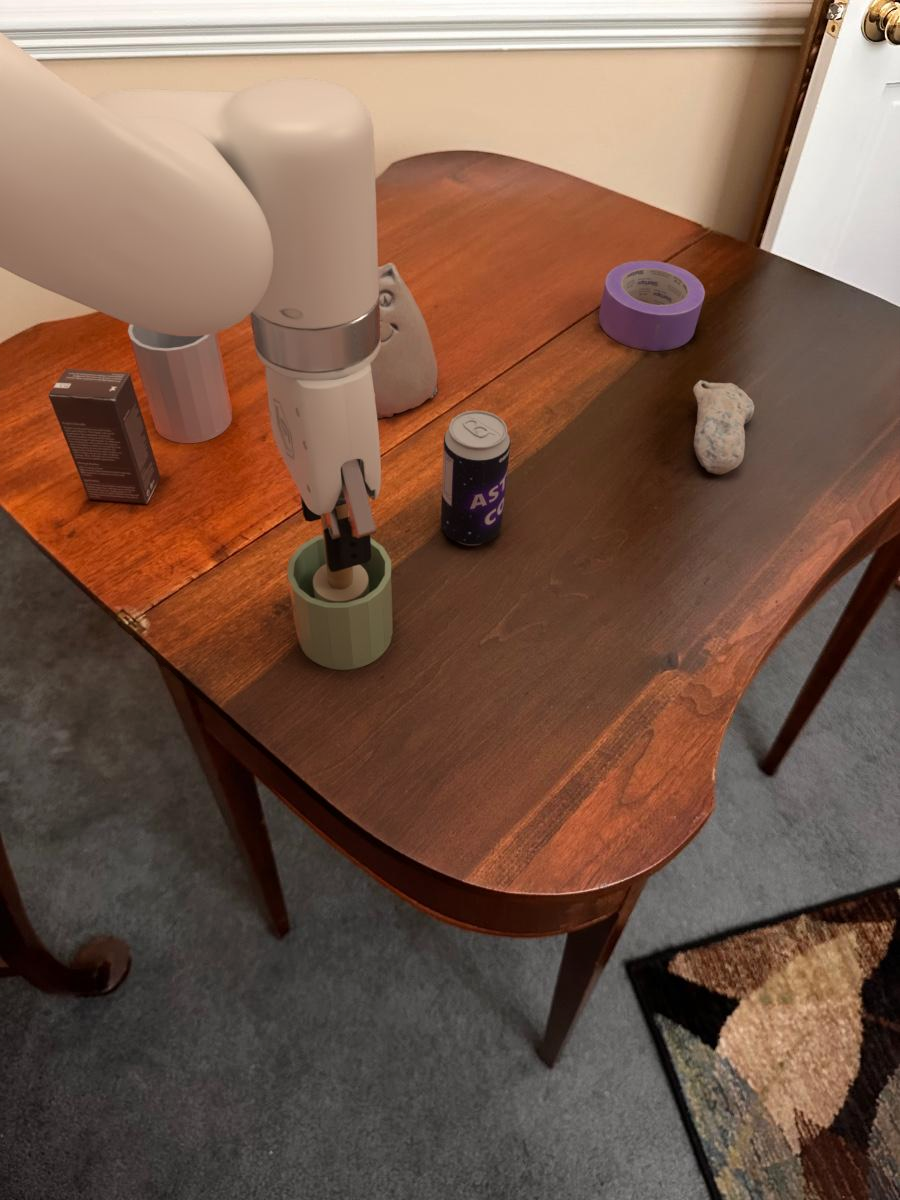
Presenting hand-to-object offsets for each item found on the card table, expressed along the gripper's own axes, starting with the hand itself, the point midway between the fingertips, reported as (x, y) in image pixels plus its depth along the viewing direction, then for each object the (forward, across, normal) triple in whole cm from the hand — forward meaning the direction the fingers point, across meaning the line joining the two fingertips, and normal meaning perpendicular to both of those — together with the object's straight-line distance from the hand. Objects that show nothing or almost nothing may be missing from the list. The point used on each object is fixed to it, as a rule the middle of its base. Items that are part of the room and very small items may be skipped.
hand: (336, 537), depth 65 cm
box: (+12, -25, -14) cm, 31 cm away
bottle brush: (+11, 0, 0) cm, 11 cm away
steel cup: (+11, -33, -5) cm, 35 cm away
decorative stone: (+12, -9, +45) cm, 47 cm away
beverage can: (+12, -7, +15) cm, 20 cm away
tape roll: (+12, -31, +50) cm, 60 cm away
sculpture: (+12, -31, +15) cm, 36 cm away
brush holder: (+11, 0, 0) cm, 11 cm away
